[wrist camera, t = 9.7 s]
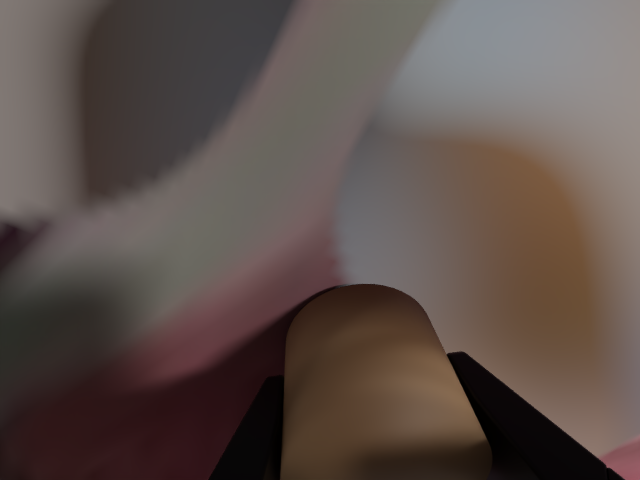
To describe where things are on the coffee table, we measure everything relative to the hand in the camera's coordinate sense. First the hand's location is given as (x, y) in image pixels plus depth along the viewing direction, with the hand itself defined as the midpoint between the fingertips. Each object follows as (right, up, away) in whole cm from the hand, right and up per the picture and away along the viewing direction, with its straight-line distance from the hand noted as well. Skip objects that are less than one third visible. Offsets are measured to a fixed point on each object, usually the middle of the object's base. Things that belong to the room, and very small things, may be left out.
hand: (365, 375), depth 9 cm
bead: (0, 0, +1) cm, 1 cm away
